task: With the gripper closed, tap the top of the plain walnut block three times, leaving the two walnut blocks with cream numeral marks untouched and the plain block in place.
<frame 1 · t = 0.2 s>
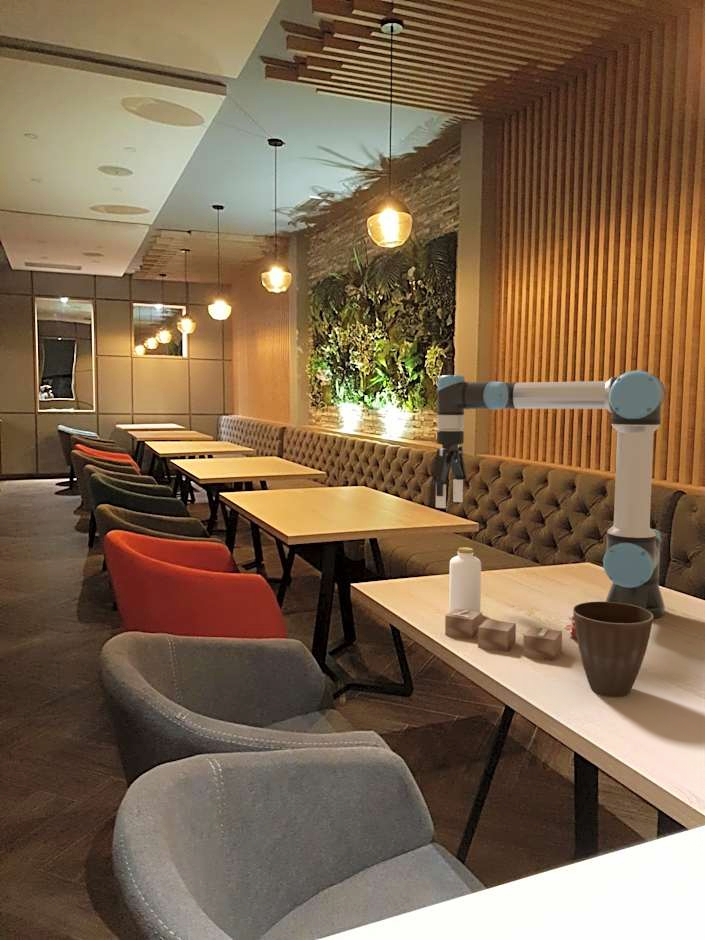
hand: (449, 504, 210), 28 cm above the table, fingers open, 13 cm apart
plant pot: (609, 691, 147), on the table
marked block one: (542, 654, 168), on the table
plain block: (496, 645, 174), on the table
potion bottle: (464, 615, 198), on the table
flower: (583, 638, 179), on the table
marked block seven: (463, 633, 183), on the table
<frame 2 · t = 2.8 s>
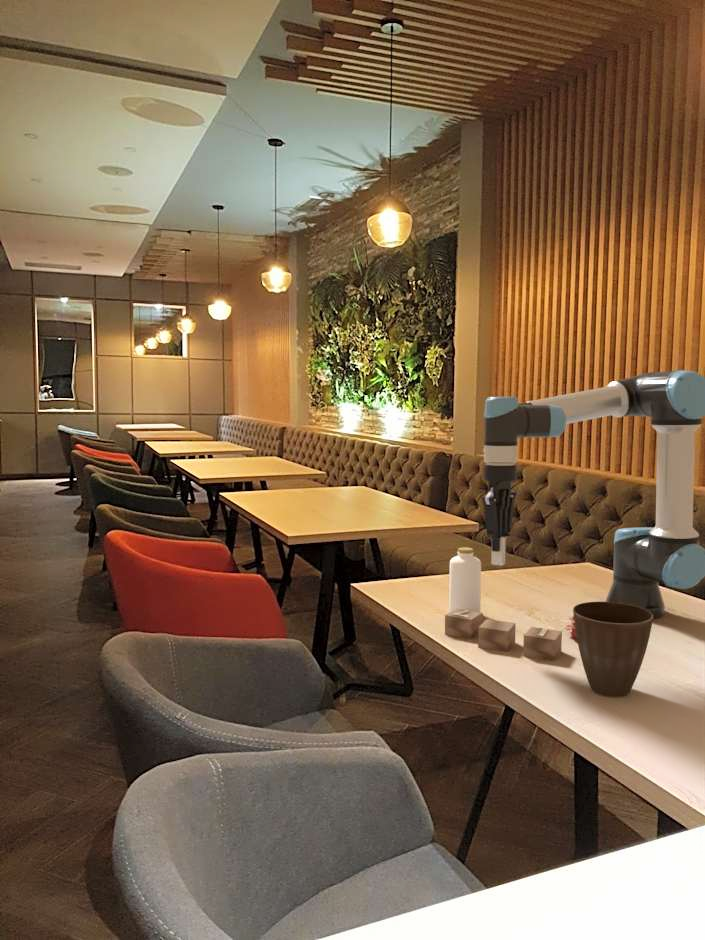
hand: (498, 564, 172), 19 cm above the table, fingers closed
nothing on the table moved.
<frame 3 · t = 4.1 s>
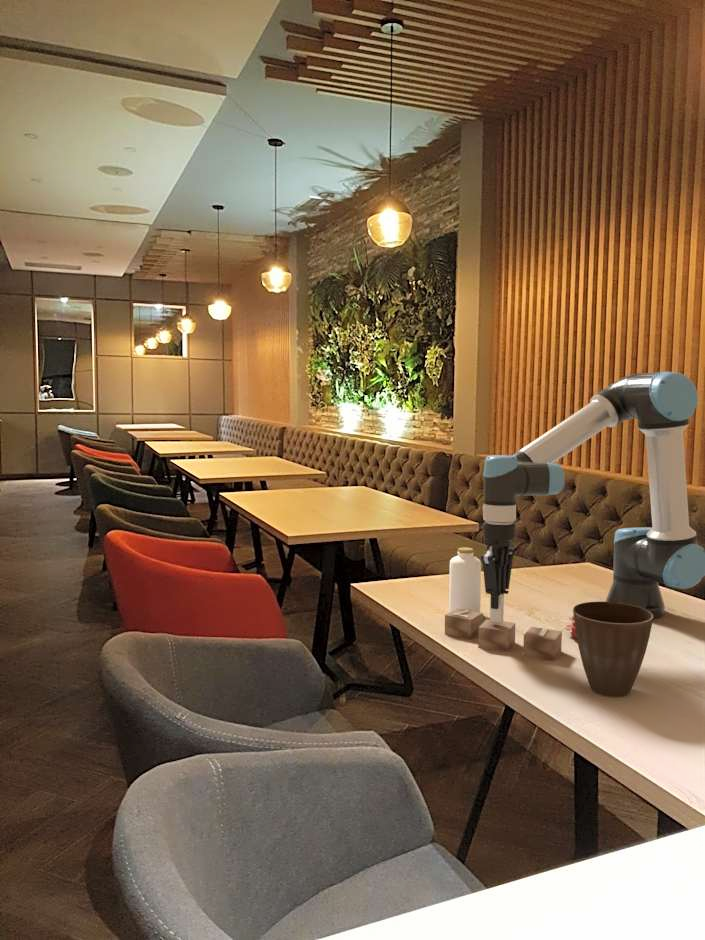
hand: (496, 621, 173), 6 cm above the table, fingers closed
nothing on the table moved.
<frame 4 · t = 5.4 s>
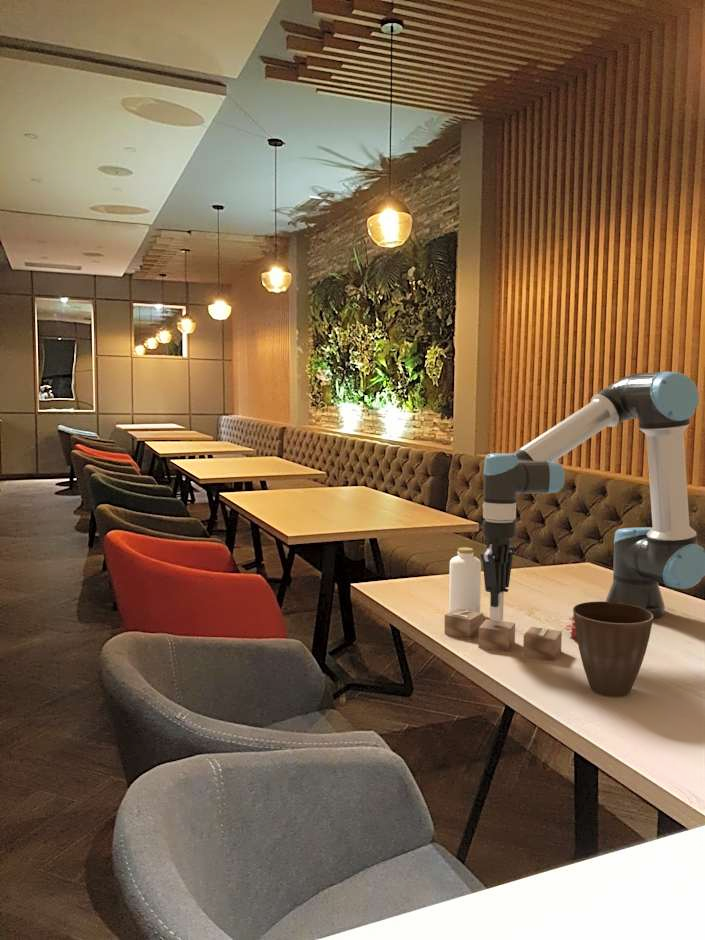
hand: (496, 619, 173), 6 cm above the table, fingers closed
nothing on the table moved.
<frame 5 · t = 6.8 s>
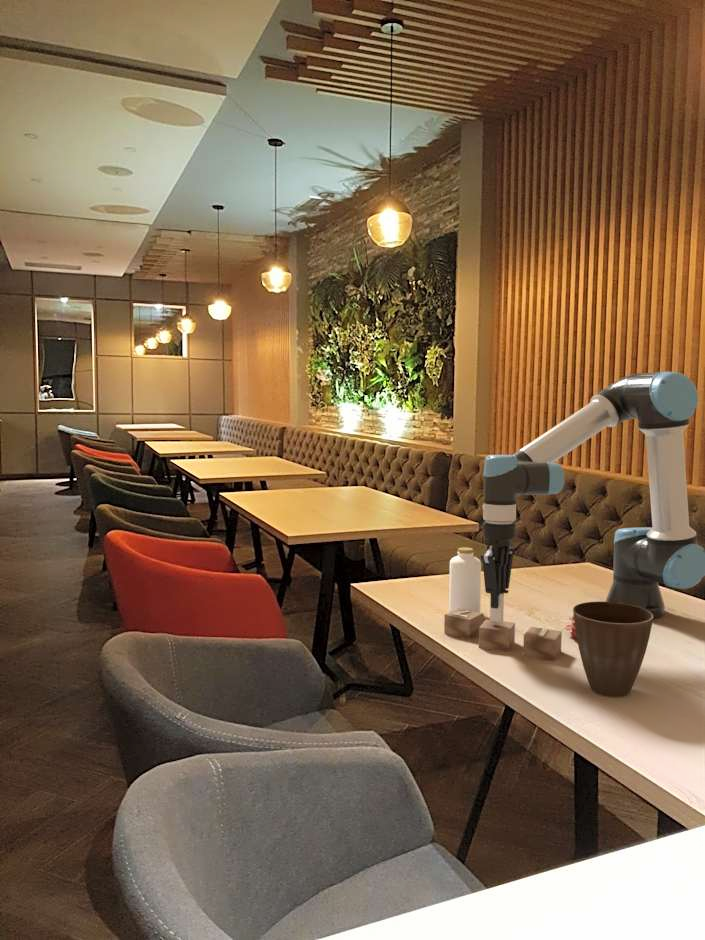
hand: (496, 620, 173), 6 cm above the table, fingers closed
nothing on the table moved.
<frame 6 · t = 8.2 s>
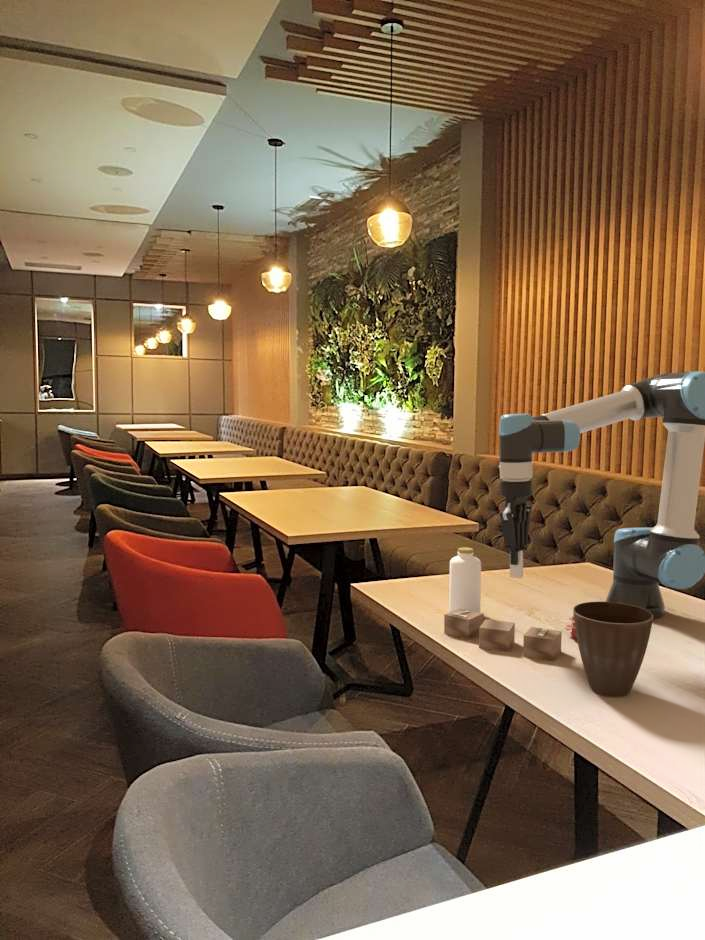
hand: (516, 577, 176), 15 cm above the table, fingers closed
nothing on the table moved.
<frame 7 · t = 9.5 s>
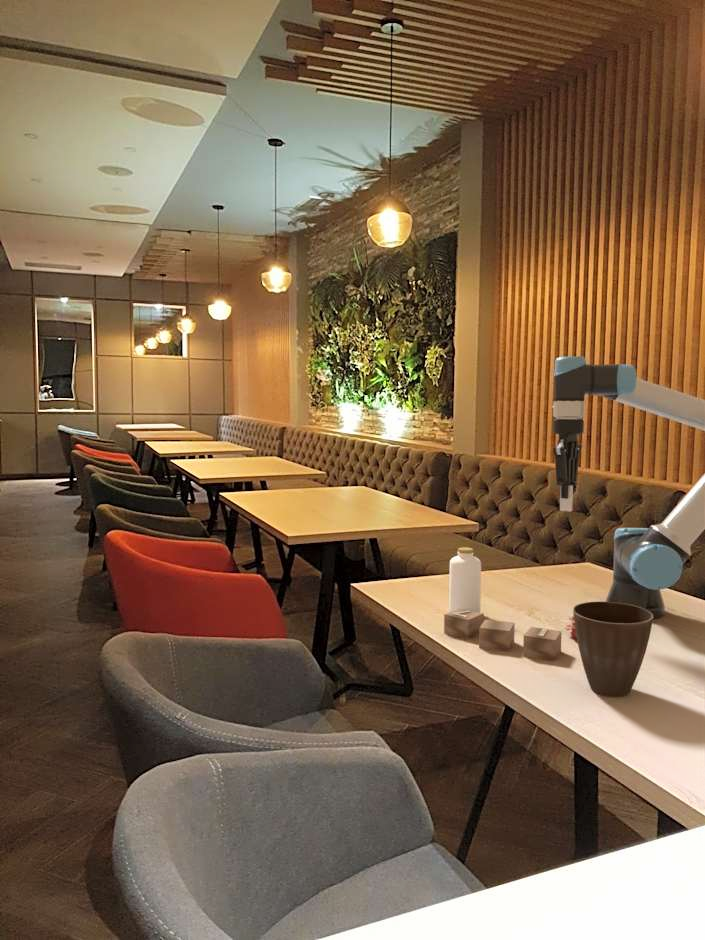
hand: (566, 510, 188), 29 cm above the table, fingers closed
nothing on the table moved.
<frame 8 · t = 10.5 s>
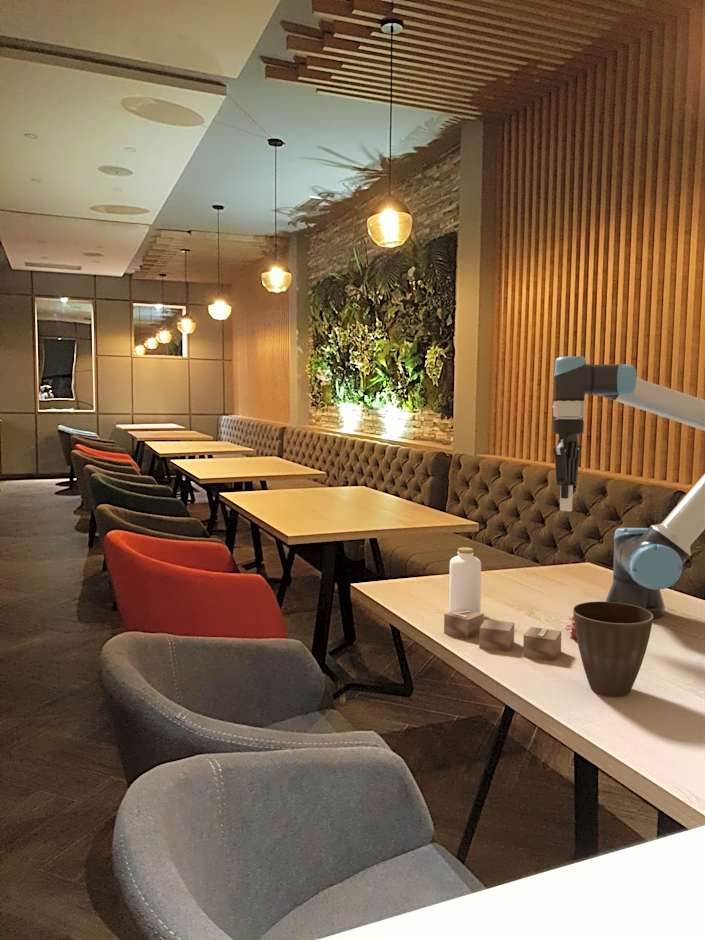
hand: (566, 510, 188), 29 cm above the table, fingers closed
nothing on the table moved.
at the end: plain block moved 0.2 cm from its start; plain block tilted 0°; plain block touching table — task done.
